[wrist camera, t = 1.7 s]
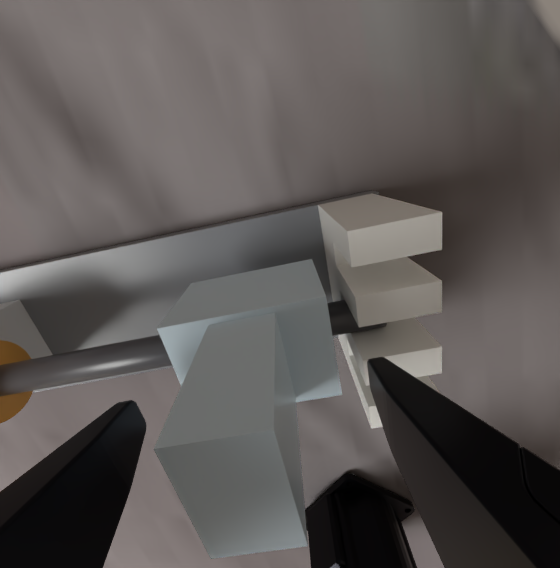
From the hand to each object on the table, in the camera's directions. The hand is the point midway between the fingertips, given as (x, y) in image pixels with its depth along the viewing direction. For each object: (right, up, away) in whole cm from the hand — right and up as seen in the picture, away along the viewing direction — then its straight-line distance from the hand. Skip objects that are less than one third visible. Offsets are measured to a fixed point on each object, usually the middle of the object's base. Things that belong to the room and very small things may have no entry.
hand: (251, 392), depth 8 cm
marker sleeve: (0, +2, +4) cm, 5 cm away
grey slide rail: (-4, +2, +8) cm, 9 cm away
